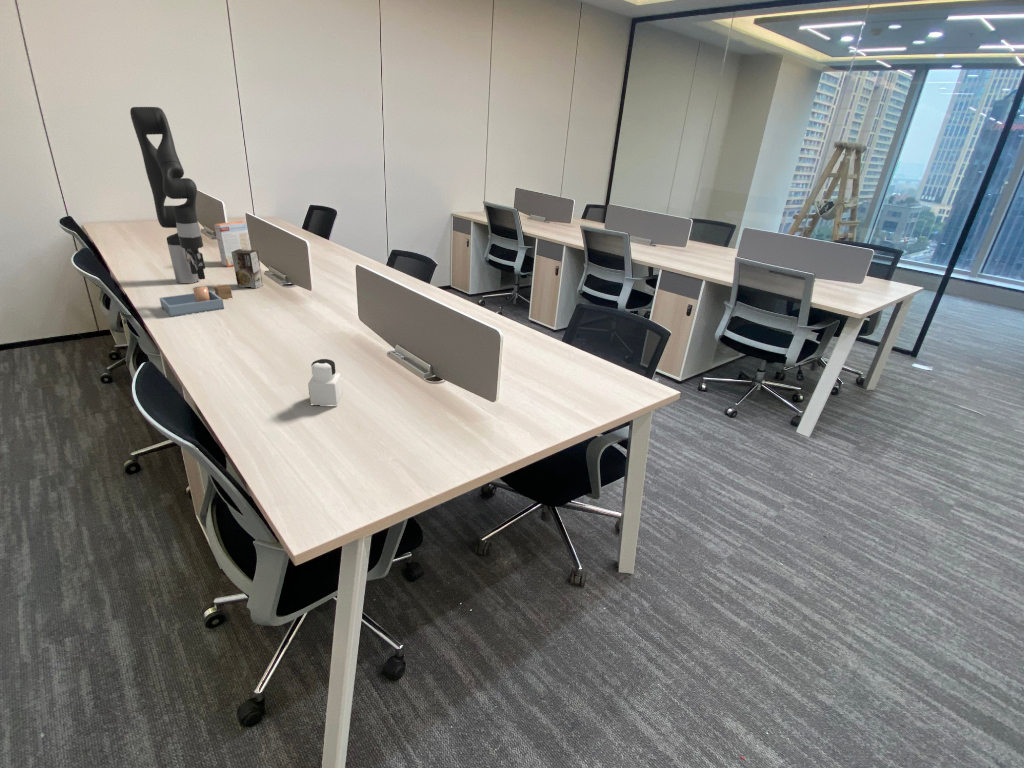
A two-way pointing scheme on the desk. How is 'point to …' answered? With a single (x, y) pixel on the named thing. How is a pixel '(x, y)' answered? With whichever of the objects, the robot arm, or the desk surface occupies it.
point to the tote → (190, 304)
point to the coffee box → (247, 268)
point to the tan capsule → (201, 294)
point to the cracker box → (231, 240)
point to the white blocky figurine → (324, 383)
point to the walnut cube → (223, 291)
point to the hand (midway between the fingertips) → (198, 276)
